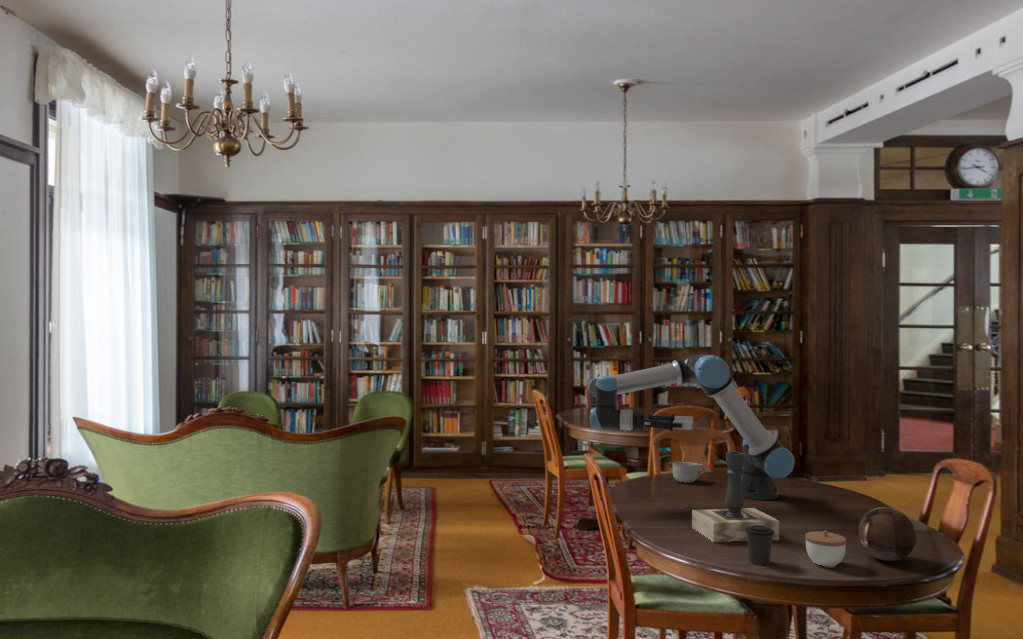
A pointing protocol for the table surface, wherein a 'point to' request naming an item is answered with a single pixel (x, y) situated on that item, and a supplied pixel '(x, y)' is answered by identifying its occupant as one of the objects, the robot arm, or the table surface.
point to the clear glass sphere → (886, 534)
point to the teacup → (686, 471)
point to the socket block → (731, 524)
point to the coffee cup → (759, 543)
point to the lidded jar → (825, 547)
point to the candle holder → (734, 485)
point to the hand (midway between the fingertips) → (692, 423)
